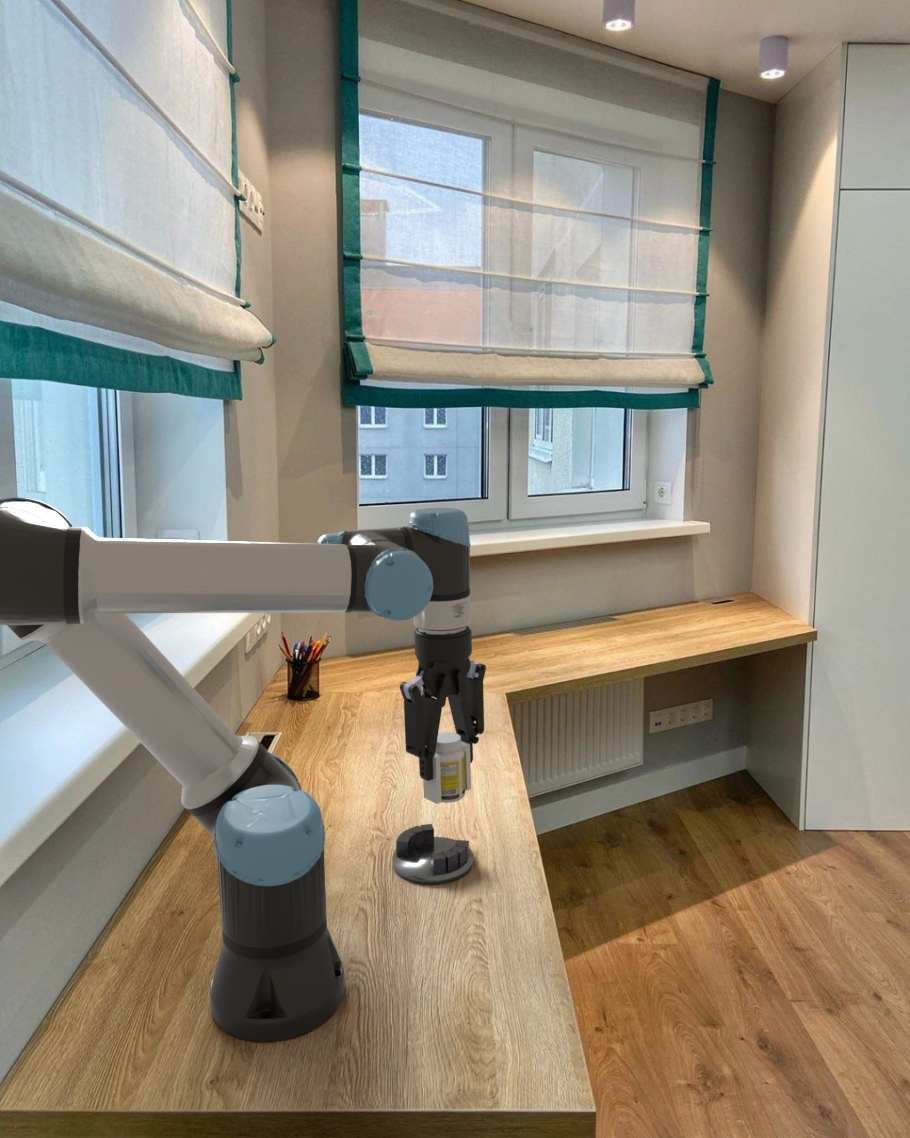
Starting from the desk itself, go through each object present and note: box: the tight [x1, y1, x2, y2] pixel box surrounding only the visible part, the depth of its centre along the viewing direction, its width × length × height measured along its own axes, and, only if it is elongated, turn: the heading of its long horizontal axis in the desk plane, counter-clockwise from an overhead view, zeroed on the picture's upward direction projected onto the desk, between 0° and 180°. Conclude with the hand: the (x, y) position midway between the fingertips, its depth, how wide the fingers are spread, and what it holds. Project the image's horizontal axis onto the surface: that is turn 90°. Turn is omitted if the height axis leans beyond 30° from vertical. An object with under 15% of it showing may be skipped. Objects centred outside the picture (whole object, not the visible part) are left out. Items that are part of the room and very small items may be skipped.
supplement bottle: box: [435, 731, 466, 804], centre depth 117 cm, size 5×5×8 cm
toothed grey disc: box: [391, 823, 474, 886], centre depth 128 cm, size 12×12×4 cm
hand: (447, 793), depth 118 cm, fingers closed on supplement bottle, 5 cm apart
